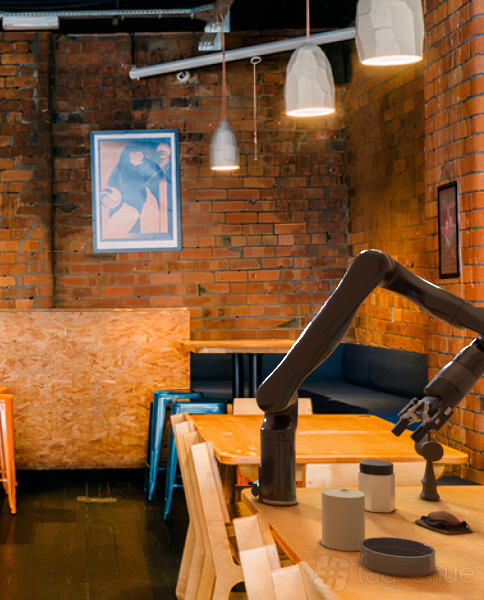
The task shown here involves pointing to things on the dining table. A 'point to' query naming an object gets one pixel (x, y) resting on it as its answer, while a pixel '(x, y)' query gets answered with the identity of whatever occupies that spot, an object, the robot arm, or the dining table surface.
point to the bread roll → (444, 523)
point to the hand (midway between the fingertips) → (403, 437)
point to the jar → (377, 485)
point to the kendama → (429, 465)
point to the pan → (397, 556)
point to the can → (343, 518)
